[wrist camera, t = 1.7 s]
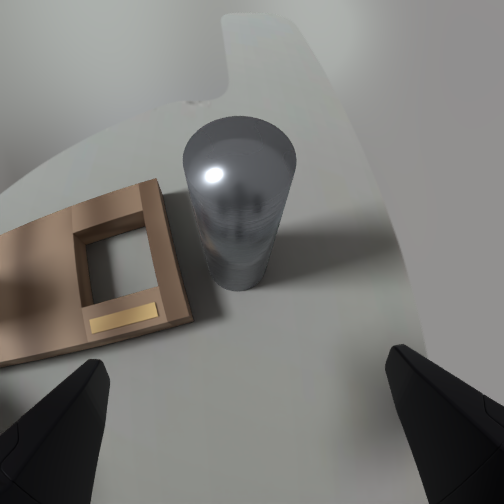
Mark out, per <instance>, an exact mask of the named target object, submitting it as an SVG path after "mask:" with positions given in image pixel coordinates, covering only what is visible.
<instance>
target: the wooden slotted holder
mask: <svg viewBox="0 0 504 504" xmlns="http://www.w3.org/2000/svg"><path fill="white" fill-rule="evenodd" d="M144 226H146V230H147V235H148V240H149V245H150V250H151V255H152V260H153V264H154V269H155V273H156V278H157V282H158V287H154V288H150V289H147V290H143V291H140V292H136V293H133V294H129V295H126V296H122V297H119V298H115V299H112V300H108V301H105V302H101V303H98V304H94V303H93V297H92V290H91V284H90V277H89V270H88V262H87V253H86V245H87V244H90V243H93V242H96V241H99V240H102V239H105V238H109V237H112V236H115V235H118V234H121V233H124V232H128V231H131V230H134V229H137V228H141V227H144ZM193 321H194V319H193V316H192V312H191V308H190V305H189V301H188V298H187V294H186V290H185V287H184V283H183V279H182V275H181V271H180V267H179V263H178V259H177V255H176V251H175V247H174V243H173V239H172V235H171V231H170V226H169V222H168V218H167V213H166V209H165V204H164V199H163V195H162V192H161V189H160V187H159V184H158V181H157V179H156V178H155V179H152V180H148V181H145V182H142V183H138V184H135V185H132V186H129V187H126V188H123V189H120V190H116V191H113V192H110V193H107V194H104V195H101V196H99V197H96V198H93V199H90V200H87V201H84V202H82V203H79V204H76V205H73V206H71V207H68V208H65V209H63V210H60V211H57V212H55V213H52V214H50V215H47V216H45V217H42V218H40V219H37V220H35V221H32V222H30V223H27V224H25V225H23V226H20V227H18V228H16V229H13V230H11V231H9V232H6V233H4V234H2V235H0V367H5V366H10V365H15V364H20V363H25V362H30V361H35V360H40V359H45V358H49V357H54V356H58V355H63V354H67V353H72V352H76V351H81V350H85V349H89V348H93V347H98V346H102V345H106V344H110V343H114V342H118V341H122V340H126V339H130V338H134V337H138V336H142V335H145V334H149V333H153V332H157V331H160V330H164V329H168V328H172V327H175V326H179V325H182V324H186V323H190V322H193Z"/></svg>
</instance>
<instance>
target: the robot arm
mask: <svg viewBox="0 0 504 504" xmlns="http://www.w3.org/2000/svg"><path fill="white" fill-rule="evenodd" d="M385 371H386V375H387V378H388V382H389V385H390V389H391V393H392V397H393V400H394V404H395V407H396V410H397V413H398V416H399V419H400V421H401V424H402V426H403V429H404V432H405V435H406V437H407V440H408V443H409V445H410V448H411V451H412V454H413V457H414V460H415V462H416V465H417V468H418V471H419V474H420V477H421V480H422V483H423V486H424V489H425V493H426V496H427V499H428V502H429V504H504V406H502V405H500V404H499V403H497V402H495V401H494V400H492V399H490V398H489V397H487V396H486V395H483V394H482V393H481V392H479V391H478V390H476V389H475V388H473V387H471V386H470V385H468V384H466V383H465V382H463V381H462V380H460V379H459V378H457V377H455V376H454V375H452V374H451V373H449V372H447V371H446V370H444V369H443V368H441V367H439V366H438V365H436V364H435V363H433V362H432V361H430V360H428V359H427V358H425V357H424V356H422V355H420V354H419V353H417V352H416V351H414V350H413V349H411V348H409V347H408V346H406V345H404V344H400V345H394V346H392V347H391V349H390V352H389V355H388V358H387V361H386V364H385ZM109 388H110V378H109V376H108V373H107V371H106V368H105V366H104V363H103V362H102V360H99V359H89V360H87V361H86V362H85V363H84V364H83V365H81V366H80V367H79V368H78V369H77V370H75V371H74V372H73V373H72V374H71V375H70V376H68V377H67V378H66V379H65V380H64V381H63V382H61V383H60V384H59V385H58V386H57V387H56V388H54V389H53V390H52V391H51V392H50V393H49V394H47V395H46V396H45V397H44V398H43V399H42V400H41V401H39V402H38V403H37V404H36V405H35V406H34V407H32V408H31V409H30V410H29V411H28V412H27V413H26V414H24V415H23V416H22V417H21V418H20V419H19V420H18V422H15V423H14V424H13V425H12V426H11V427H10V428H8V429H7V430H6V431H5V432H4V433H2V434H1V435H0V504H90V502H91V496H92V490H93V484H94V478H95V472H96V467H97V462H98V457H99V452H100V447H101V442H102V437H103V433H104V428H105V421H106V413H107V404H108V396H109Z"/></svg>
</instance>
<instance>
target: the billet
mask: <svg viewBox="0 0 504 504" xmlns="http://www.w3.org/2000/svg"><path fill="white" fill-rule="evenodd" d="M183 167H184V172H185V176H186V180H187V185H188V189H189V193H190V197H191V201H192V205H193V210H194V214H195V218H196V222H197V226H198V230H199V234H200V238H201V242H202V245H203V249H204V253H205V257H206V261H207V265H208V268H209V272H210V274H211V276H212V278H213V280H214V281H215V282H216V283H217V284H218V285H220V286H221V287H223V288H225V289H227V290H231V291H244V290H247V289H250V288H252V287H254V286H255V285H256V284H257V283H258V282H259V281H260V280H261V279H262V277H263V275H264V273H265V270H266V267H267V264H268V260H269V257H270V254H271V250H272V247H273V244H274V240H275V237H276V234H277V230H278V227H279V224H280V220H281V217H282V214H283V210H284V207H285V203H286V200H287V197H288V193H289V190H290V186H291V183H292V180H293V176H294V173H295V169H296V153H295V150H294V147H293V145H292V143H291V141H290V140H289V138H288V137H287V136H286V135H285V134H284V133H283V132H282V131H281V130H280V129H278V128H277V127H276V126H274V125H272V124H270V123H269V122H266V121H264V120H261V119H257V118H253V117H246V116H232V117H225V118H221V119H218V120H215V121H212V122H210V123H208V124H206V125H205V126H203V127H202V128H200V129H199V130H198V131H197V132H196V133H195V134H194V135H193V136H192V137H191V138H190V140H189V141H188V143H187V145H186V147H185V150H184V154H183Z"/></svg>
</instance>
